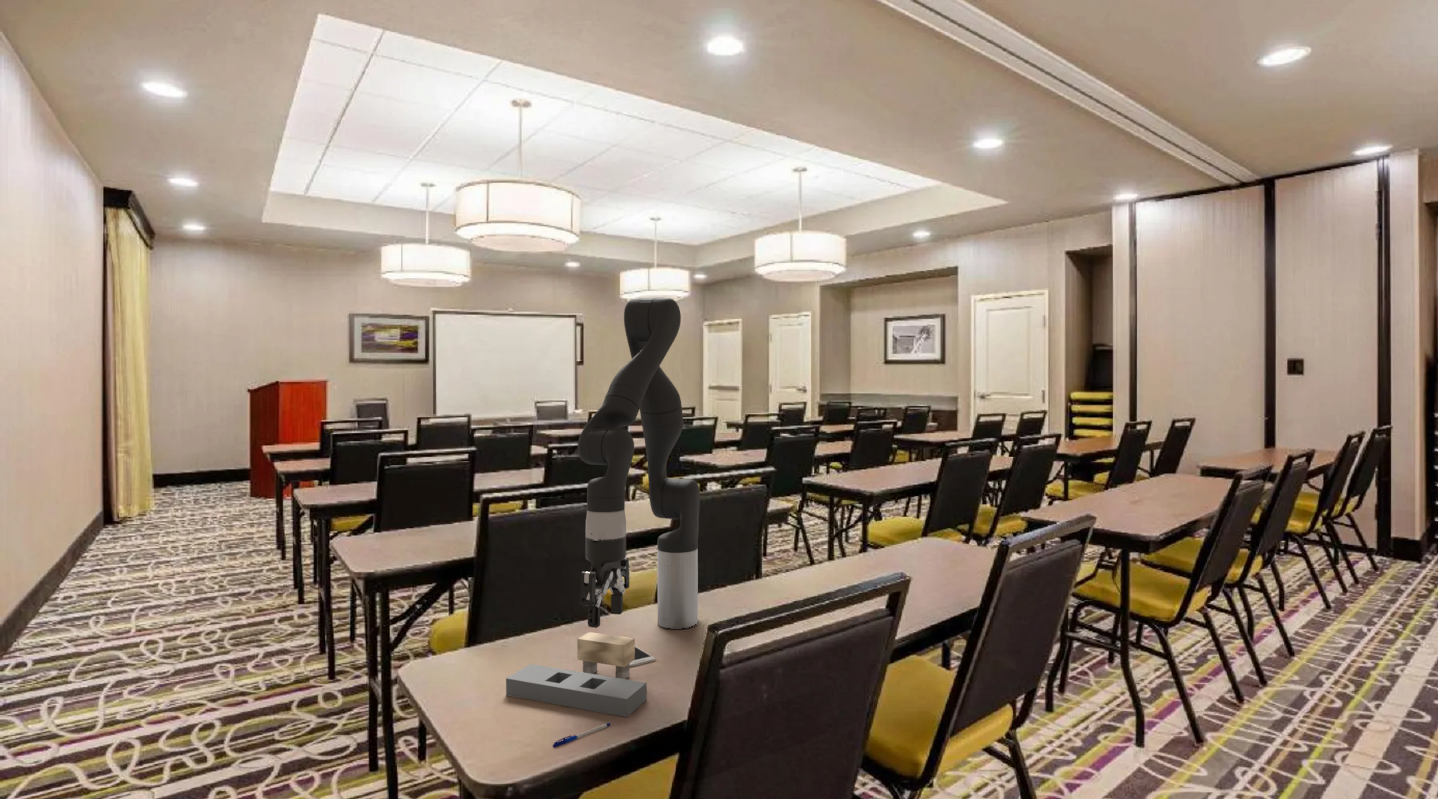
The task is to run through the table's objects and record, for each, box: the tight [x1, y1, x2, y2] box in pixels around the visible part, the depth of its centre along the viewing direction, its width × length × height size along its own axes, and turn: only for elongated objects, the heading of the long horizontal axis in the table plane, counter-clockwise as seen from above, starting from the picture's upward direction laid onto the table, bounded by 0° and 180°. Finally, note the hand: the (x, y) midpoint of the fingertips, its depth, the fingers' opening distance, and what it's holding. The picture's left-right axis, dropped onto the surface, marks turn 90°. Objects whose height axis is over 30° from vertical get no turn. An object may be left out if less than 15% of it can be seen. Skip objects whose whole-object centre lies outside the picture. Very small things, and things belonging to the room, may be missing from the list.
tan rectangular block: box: [576, 631, 636, 679], centre depth 138 cm, size 10×4×7 cm, turn 69°
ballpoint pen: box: [552, 722, 612, 749], centre depth 114 cm, size 10×1×1 cm, turn 136°
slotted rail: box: [505, 663, 648, 718], centre depth 128 cm, size 24×7×3 cm, turn 69°
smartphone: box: [630, 645, 656, 668], centre depth 150 cm, size 7×16×1 cm, turn 36°
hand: (605, 620), depth 138 cm, fingers open, 8 cm apart
